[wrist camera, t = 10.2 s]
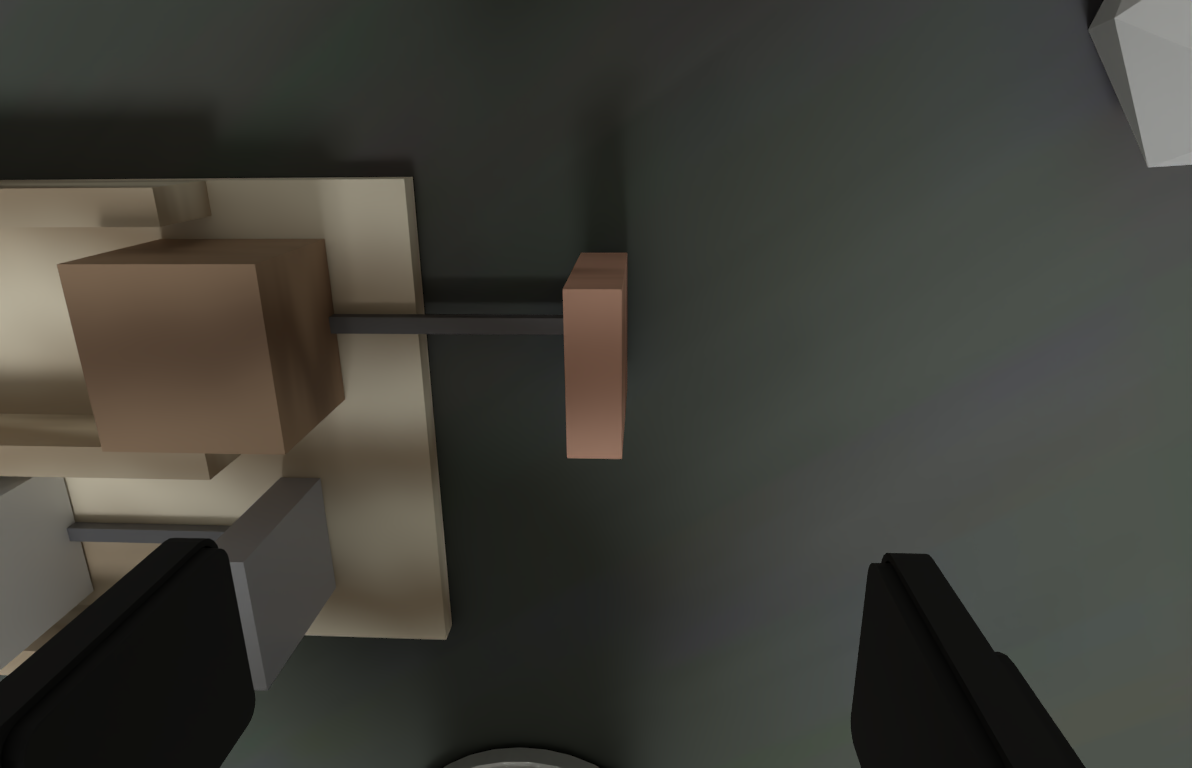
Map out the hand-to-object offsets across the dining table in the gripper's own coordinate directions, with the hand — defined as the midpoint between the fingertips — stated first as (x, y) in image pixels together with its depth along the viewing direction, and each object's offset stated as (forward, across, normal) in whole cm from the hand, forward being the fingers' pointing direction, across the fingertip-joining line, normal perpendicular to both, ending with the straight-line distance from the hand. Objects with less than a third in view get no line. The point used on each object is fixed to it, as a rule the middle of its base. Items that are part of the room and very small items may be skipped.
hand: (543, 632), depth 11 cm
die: (+18, -18, -10) cm, 28 cm away
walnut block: (+17, +8, 0) cm, 19 cm away
